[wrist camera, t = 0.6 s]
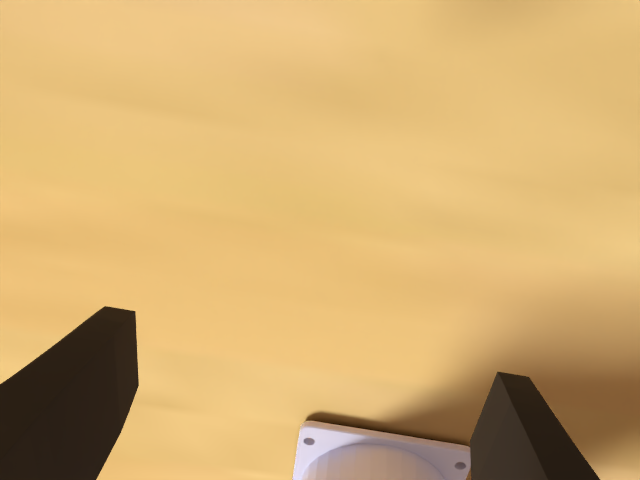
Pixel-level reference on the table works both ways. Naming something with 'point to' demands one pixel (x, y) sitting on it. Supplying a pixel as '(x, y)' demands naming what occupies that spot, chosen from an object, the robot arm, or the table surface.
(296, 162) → the table surface
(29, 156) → the table surface
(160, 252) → the table surface
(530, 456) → the robot arm
